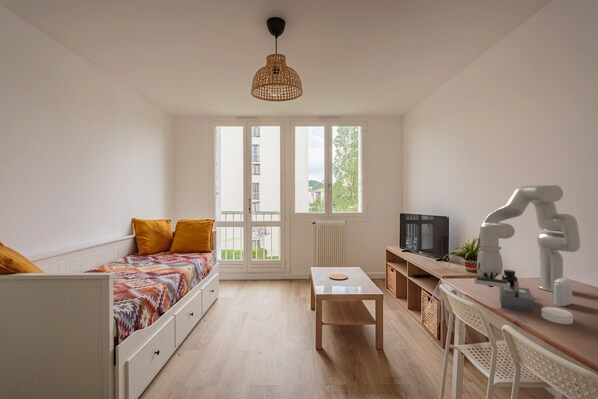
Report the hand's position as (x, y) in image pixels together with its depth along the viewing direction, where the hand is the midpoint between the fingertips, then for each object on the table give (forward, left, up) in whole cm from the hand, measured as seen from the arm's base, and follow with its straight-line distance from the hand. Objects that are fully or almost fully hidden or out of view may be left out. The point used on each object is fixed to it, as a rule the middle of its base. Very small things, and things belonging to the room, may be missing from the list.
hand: (490, 286), depth 140 cm
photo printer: (-14, +29, -8) cm, 33 cm away
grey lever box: (-3, +10, -8) cm, 13 cm away
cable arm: (+4, +1, +2) cm, 4 cm away
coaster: (+9, +23, -8) cm, 26 cm away
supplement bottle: (-21, +9, -8) cm, 24 cm away
